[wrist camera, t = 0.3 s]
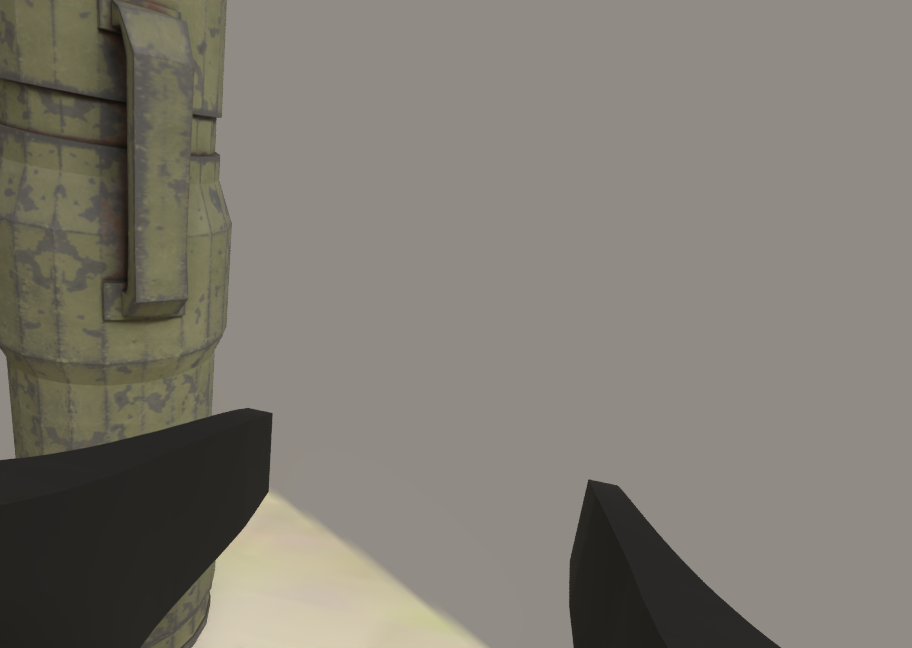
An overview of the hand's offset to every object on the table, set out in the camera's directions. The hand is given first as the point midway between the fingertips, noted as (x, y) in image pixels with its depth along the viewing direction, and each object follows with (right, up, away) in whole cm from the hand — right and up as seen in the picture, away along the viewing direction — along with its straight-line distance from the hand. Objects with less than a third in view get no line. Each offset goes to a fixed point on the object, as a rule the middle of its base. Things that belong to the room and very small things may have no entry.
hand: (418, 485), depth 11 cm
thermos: (-18, -13, +18) cm, 28 cm away
